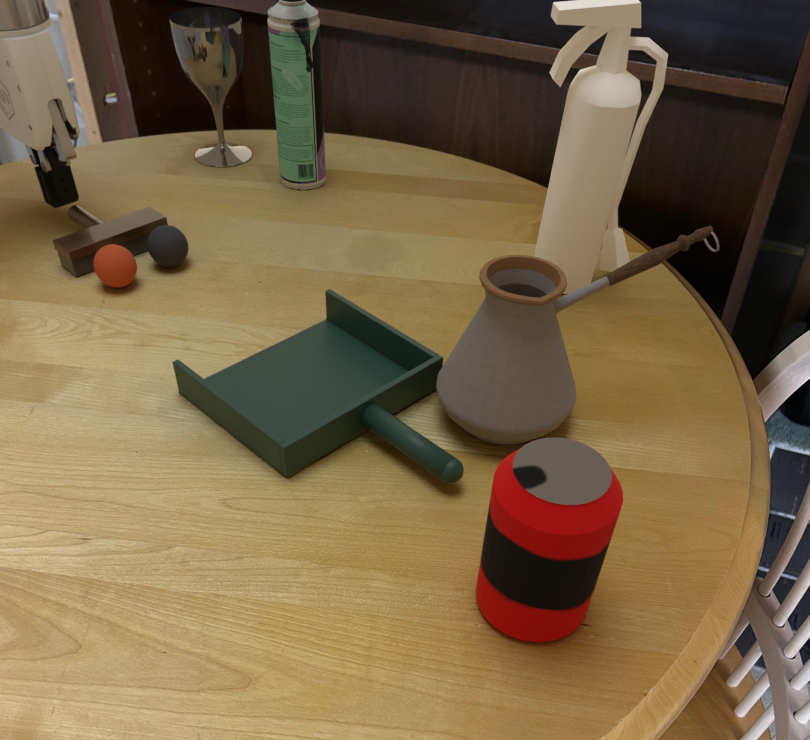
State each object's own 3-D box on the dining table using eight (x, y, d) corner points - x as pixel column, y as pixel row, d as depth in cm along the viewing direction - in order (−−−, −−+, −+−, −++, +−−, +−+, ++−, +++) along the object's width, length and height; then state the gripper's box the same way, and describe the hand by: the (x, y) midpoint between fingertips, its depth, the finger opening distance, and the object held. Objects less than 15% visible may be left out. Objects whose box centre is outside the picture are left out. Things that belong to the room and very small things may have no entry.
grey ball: (144, 263, 83) (135, 226, 80) (177, 250, 85) (170, 213, 82) (165, 278, 81) (158, 241, 78) (199, 265, 83) (192, 228, 80)
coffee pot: (459, 471, 63) (479, 300, 52) (416, 384, 70) (426, 219, 59) (698, 428, 68) (763, 263, 57) (635, 351, 75) (681, 191, 64)
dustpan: (178, 392, 69) (171, 361, 66) (331, 318, 77) (329, 288, 75) (376, 550, 57) (376, 519, 55) (529, 443, 66) (535, 412, 63)
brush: (31, 244, 85) (22, 218, 83) (125, 212, 90) (119, 187, 88) (76, 278, 80) (68, 252, 78) (171, 242, 86) (166, 216, 84)
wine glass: (178, 160, 100) (154, 21, 88) (213, 137, 105) (194, 3, 93) (234, 173, 98) (217, 32, 87) (267, 149, 103) (254, 13, 92)
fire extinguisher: (636, 295, 82) (715, 10, 63) (519, 297, 81) (564, 8, 62) (619, 262, 86) (687, -14, 68) (508, 263, 85) (546, -16, 67)
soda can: (458, 572, 56) (475, 440, 47) (555, 547, 58) (589, 417, 49) (502, 658, 51) (530, 530, 42) (606, 629, 53) (654, 500, 44)
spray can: (335, 180, 97) (329, -16, 82) (302, 194, 94) (289, -6, 80) (304, 166, 100) (292, -27, 85) (271, 179, 97) (253, -17, 82)
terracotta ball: (91, 283, 80) (80, 245, 77) (126, 270, 82) (117, 232, 79) (112, 300, 78) (102, 261, 75) (148, 285, 80) (140, 247, 77)
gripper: (-71, -3, 76) (-2, 190, 90) (4, 35, 69) (66, 238, 83) (4, -18, 80) (59, 170, 93) (83, 18, 73) (130, 215, 86)
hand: (62, 201), depth 88 cm, fingers closed
